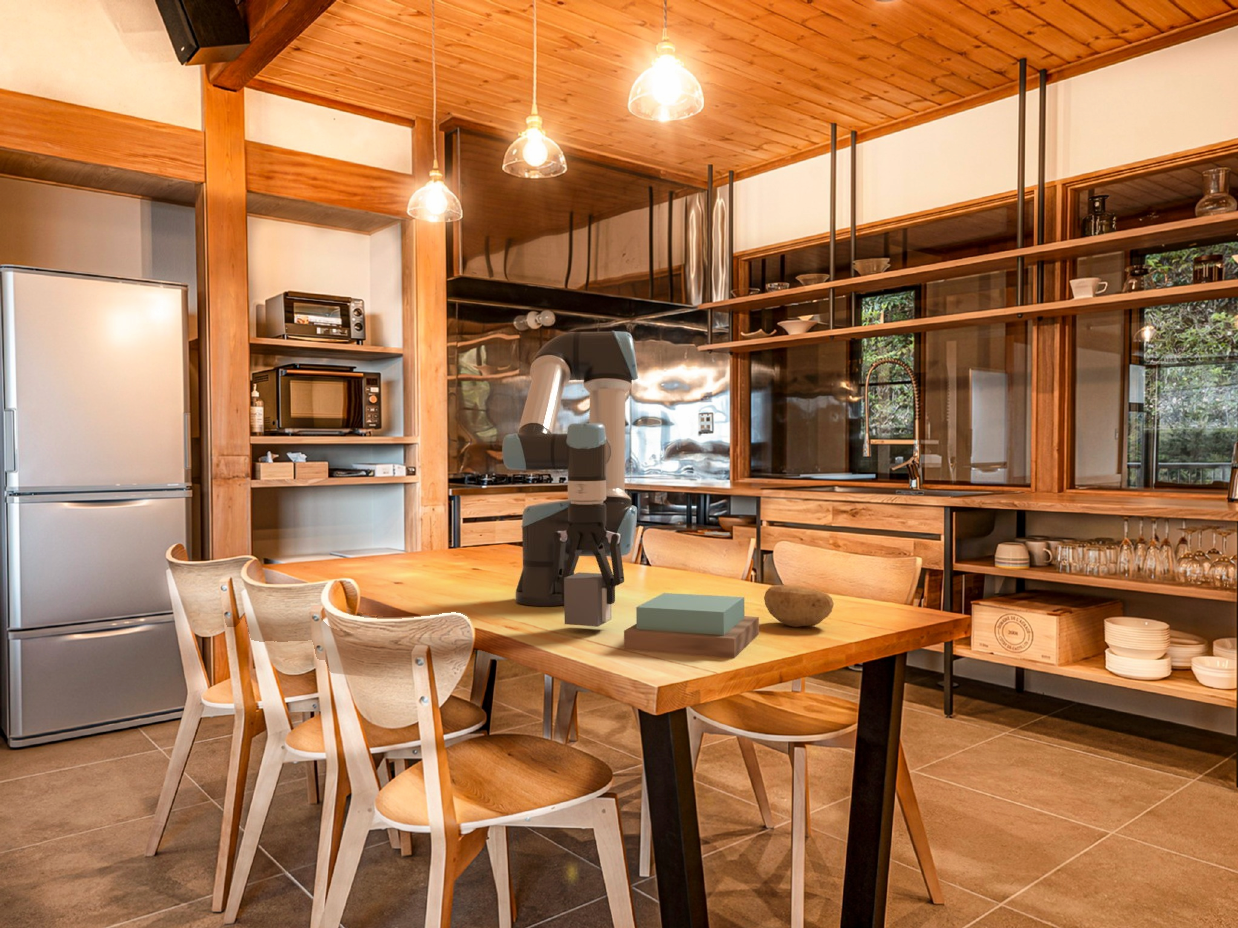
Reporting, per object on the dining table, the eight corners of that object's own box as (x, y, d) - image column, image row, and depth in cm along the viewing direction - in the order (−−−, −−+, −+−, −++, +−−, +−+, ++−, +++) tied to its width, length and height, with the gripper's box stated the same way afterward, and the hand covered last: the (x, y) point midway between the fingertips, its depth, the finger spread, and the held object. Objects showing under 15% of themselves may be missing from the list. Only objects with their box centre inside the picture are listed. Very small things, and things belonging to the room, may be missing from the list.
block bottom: (659, 630, 174) (659, 610, 174) (758, 637, 167) (758, 616, 167) (624, 652, 156) (624, 630, 155) (734, 661, 148) (734, 638, 148)
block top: (664, 613, 172) (663, 592, 171) (744, 618, 166) (744, 597, 166) (636, 629, 157) (636, 606, 157) (723, 635, 151) (723, 612, 151)
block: (578, 616, 176) (578, 572, 176) (611, 619, 173) (610, 574, 173) (564, 624, 169) (564, 577, 169) (598, 626, 167) (597, 579, 167)
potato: (821, 634, 166) (821, 592, 166) (755, 626, 175) (755, 586, 175) (842, 626, 174) (842, 586, 174) (778, 618, 182) (778, 580, 182)
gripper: (532, 502, 171) (533, 619, 171) (628, 504, 164) (629, 626, 164) (549, 499, 178) (550, 612, 178) (641, 501, 171) (642, 618, 171)
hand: (588, 618), depth 171 cm, fingers closed on block, 7 cm apart
